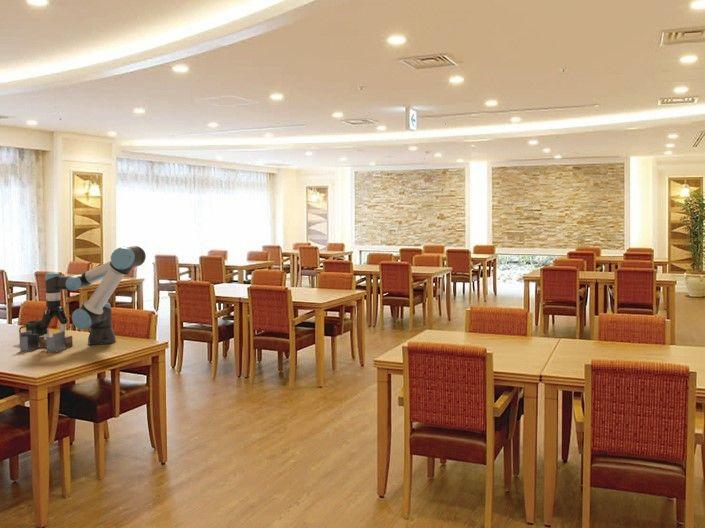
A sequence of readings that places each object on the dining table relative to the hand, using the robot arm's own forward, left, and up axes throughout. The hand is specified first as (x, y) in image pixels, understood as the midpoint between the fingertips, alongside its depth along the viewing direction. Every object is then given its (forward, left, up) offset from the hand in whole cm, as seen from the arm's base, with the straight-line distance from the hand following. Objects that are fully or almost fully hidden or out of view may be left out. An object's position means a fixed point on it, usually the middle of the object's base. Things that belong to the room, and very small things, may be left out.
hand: (54, 337), depth 391 cm
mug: (+22, -9, -5) cm, 24 cm away
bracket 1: (+8, +11, -5) cm, 14 cm away
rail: (0, 0, -5) cm, 5 cm away
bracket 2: (-8, +11, -5) cm, 15 cm away
